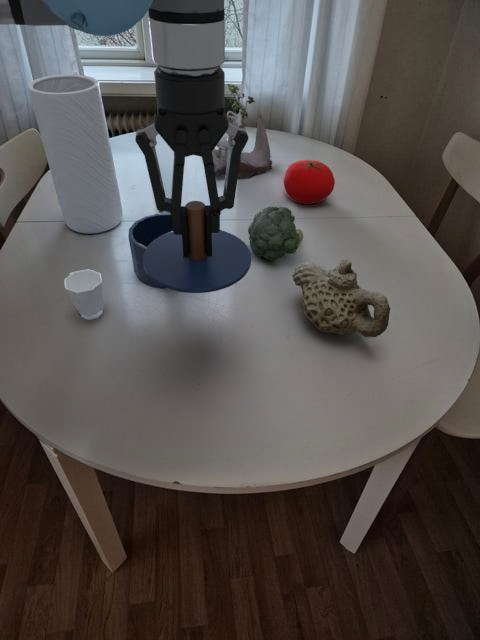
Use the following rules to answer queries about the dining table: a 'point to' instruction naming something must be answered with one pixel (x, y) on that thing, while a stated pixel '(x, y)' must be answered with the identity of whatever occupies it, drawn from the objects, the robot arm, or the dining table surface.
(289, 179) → the tomato
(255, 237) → the vegetable
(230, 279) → the pot lid
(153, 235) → the pot
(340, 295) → the teapot
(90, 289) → the cup
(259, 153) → the potted plant
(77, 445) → the dining table surface
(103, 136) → the vase
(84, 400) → the dining table surface
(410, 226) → the dining table surface
